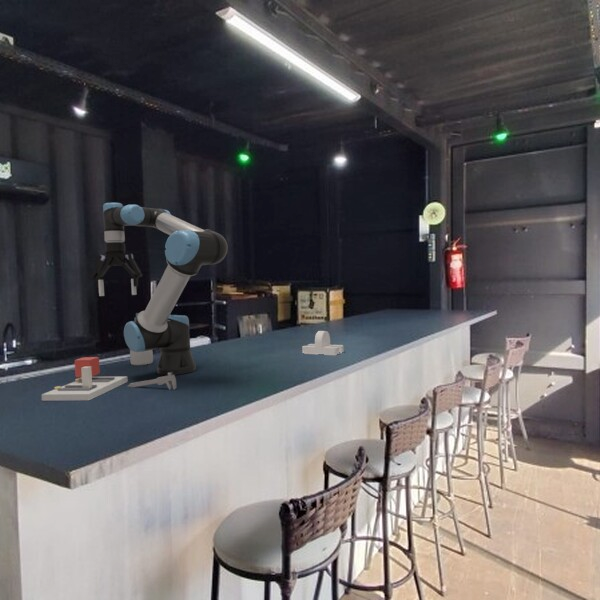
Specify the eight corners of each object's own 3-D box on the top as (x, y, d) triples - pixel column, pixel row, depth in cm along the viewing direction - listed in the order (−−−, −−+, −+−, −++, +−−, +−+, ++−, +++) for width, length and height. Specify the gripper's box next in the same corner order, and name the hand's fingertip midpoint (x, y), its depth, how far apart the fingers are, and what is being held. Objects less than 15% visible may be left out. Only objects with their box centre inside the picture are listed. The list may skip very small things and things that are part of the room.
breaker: (92, 387, 157) (91, 366, 157) (88, 388, 155) (87, 367, 155) (86, 387, 158) (84, 366, 157) (82, 388, 155) (81, 367, 155)
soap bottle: (158, 362, 213) (155, 312, 212) (140, 366, 205) (137, 314, 204) (143, 361, 219) (141, 312, 217) (125, 364, 210) (123, 313, 209)
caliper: (176, 390, 160) (175, 371, 160) (174, 390, 159) (173, 372, 159) (128, 386, 168) (127, 369, 167) (126, 387, 167) (125, 369, 166)
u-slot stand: (336, 356, 216) (335, 332, 216) (301, 354, 225) (300, 331, 224) (344, 352, 225) (343, 330, 224) (310, 350, 233) (309, 329, 233)
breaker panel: (127, 381, 175) (127, 374, 175) (89, 400, 149) (88, 391, 149) (86, 382, 177) (86, 374, 177) (41, 400, 151) (41, 392, 151)
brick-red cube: (99, 373, 172) (98, 357, 171) (91, 376, 166) (90, 359, 165) (84, 373, 172) (83, 357, 172) (75, 377, 166) (74, 360, 166)
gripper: (148, 241, 191) (151, 294, 192) (90, 244, 193) (93, 296, 195) (141, 240, 184) (144, 294, 185) (80, 243, 186) (83, 296, 187)
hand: (117, 295), depth 190 cm, fingers open, 13 cm apart
